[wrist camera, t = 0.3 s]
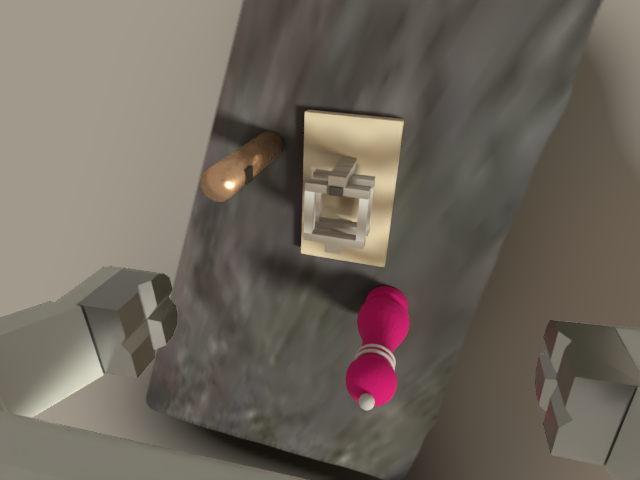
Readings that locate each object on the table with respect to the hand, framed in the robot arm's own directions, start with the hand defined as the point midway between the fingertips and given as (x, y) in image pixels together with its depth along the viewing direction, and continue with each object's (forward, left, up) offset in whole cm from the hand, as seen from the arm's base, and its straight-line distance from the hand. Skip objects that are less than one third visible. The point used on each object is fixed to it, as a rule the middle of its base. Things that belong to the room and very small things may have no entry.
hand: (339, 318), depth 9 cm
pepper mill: (+33, -1, -47) cm, 57 cm away
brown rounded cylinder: (+11, -19, -47) cm, 51 cm away
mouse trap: (+16, -8, -47) cm, 50 cm away
